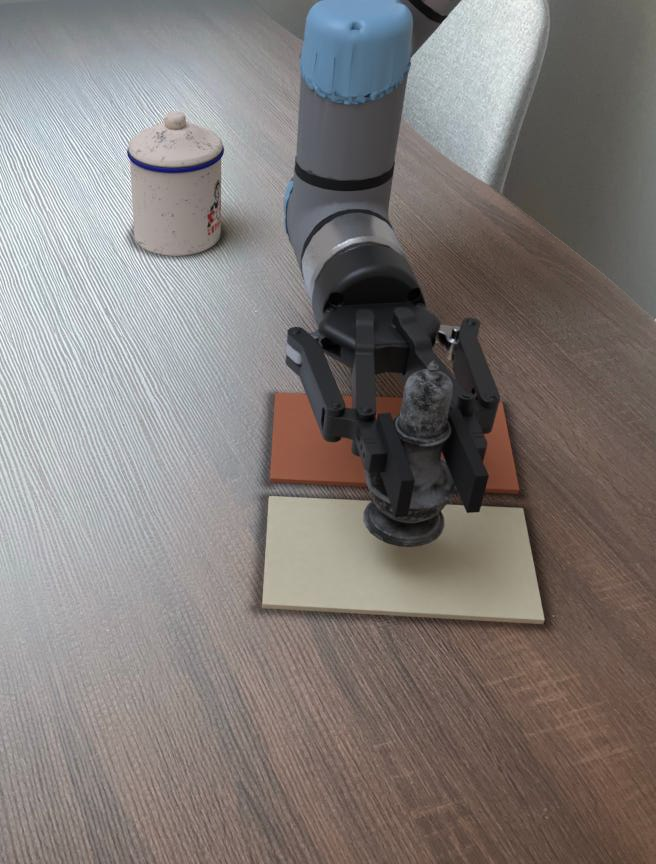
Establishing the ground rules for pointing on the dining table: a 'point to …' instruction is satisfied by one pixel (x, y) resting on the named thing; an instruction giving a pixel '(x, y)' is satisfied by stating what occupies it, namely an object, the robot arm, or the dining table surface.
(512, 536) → the cream mat
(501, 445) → the terracotta mat
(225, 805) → the dining table surface
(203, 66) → the dining table surface
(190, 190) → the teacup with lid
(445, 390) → the dark grey chess piece
